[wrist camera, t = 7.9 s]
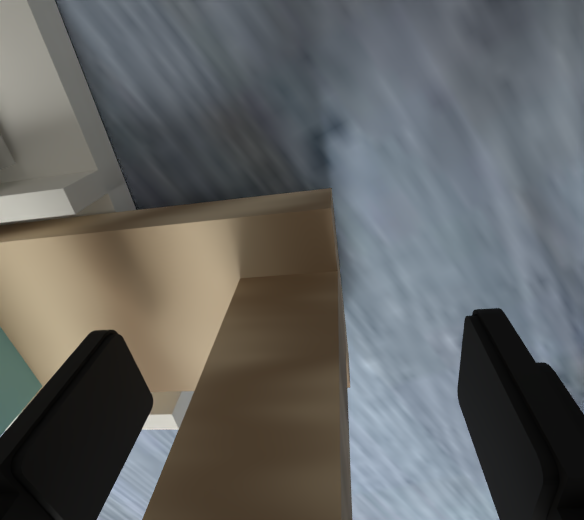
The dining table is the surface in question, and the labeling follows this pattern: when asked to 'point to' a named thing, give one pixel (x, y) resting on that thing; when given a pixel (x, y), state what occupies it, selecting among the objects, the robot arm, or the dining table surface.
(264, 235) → the oak strip
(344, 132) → the dining table surface
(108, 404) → the robot arm
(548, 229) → the dining table surface
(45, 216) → the lane board
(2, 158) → the grey strip
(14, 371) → the teal block
